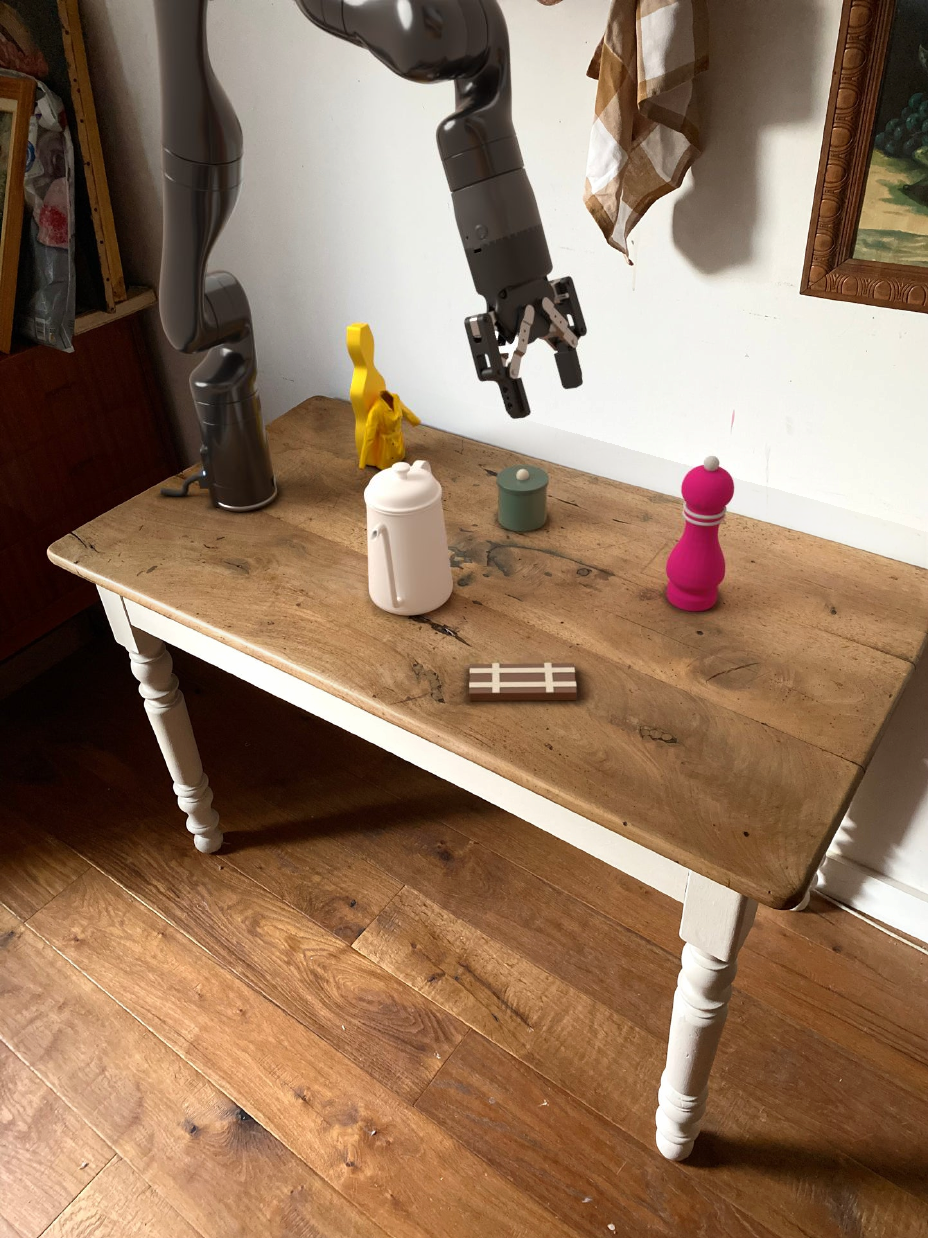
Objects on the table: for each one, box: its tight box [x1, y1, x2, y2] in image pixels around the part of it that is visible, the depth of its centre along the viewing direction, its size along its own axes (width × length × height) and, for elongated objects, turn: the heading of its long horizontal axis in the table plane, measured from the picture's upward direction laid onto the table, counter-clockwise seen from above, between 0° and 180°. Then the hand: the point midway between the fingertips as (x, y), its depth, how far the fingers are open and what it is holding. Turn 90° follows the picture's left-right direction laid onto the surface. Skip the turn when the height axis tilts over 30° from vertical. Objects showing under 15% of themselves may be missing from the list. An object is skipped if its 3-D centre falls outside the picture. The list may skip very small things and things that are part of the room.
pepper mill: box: [665, 455, 735, 612], centre depth 110 cm, size 7×7×20 cm
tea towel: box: [468, 662, 578, 702], centre depth 104 cm, size 12×5×1 cm, turn 89°
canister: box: [495, 464, 550, 533], centre depth 130 cm, size 7×7×8 cm
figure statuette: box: [346, 322, 422, 471], centre depth 141 cm, size 18×8×22 cm, turn 151°
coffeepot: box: [363, 459, 454, 616], centre depth 113 cm, size 11×25×19 cm, turn 169°
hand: (547, 401), depth 91 cm, fingers open, 8 cm apart
